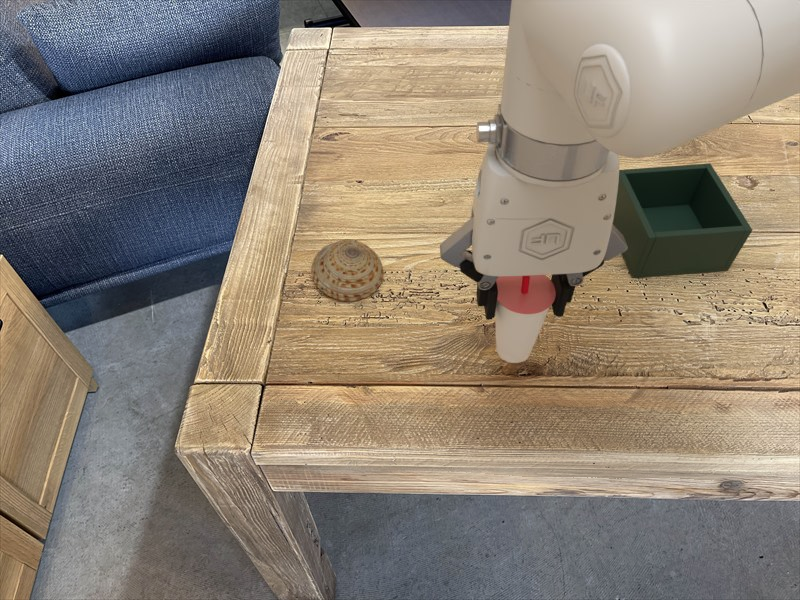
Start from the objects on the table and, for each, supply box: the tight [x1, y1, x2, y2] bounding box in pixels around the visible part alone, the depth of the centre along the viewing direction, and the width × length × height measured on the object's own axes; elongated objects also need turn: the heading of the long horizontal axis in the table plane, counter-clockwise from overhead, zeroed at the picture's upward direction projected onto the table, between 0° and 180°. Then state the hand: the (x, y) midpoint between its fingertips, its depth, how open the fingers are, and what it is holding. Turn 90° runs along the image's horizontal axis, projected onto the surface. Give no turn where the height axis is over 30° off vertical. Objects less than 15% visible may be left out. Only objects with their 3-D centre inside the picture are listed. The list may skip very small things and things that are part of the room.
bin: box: [613, 162, 753, 279], centre depth 72 cm, size 12×12×7 cm
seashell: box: [310, 238, 384, 302], centre depth 71 cm, size 8×6×8 cm
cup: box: [494, 275, 556, 364], centre depth 55 cm, size 5×5×12 cm
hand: (521, 304), depth 54 cm, fingers closed on cup, 5 cm apart
